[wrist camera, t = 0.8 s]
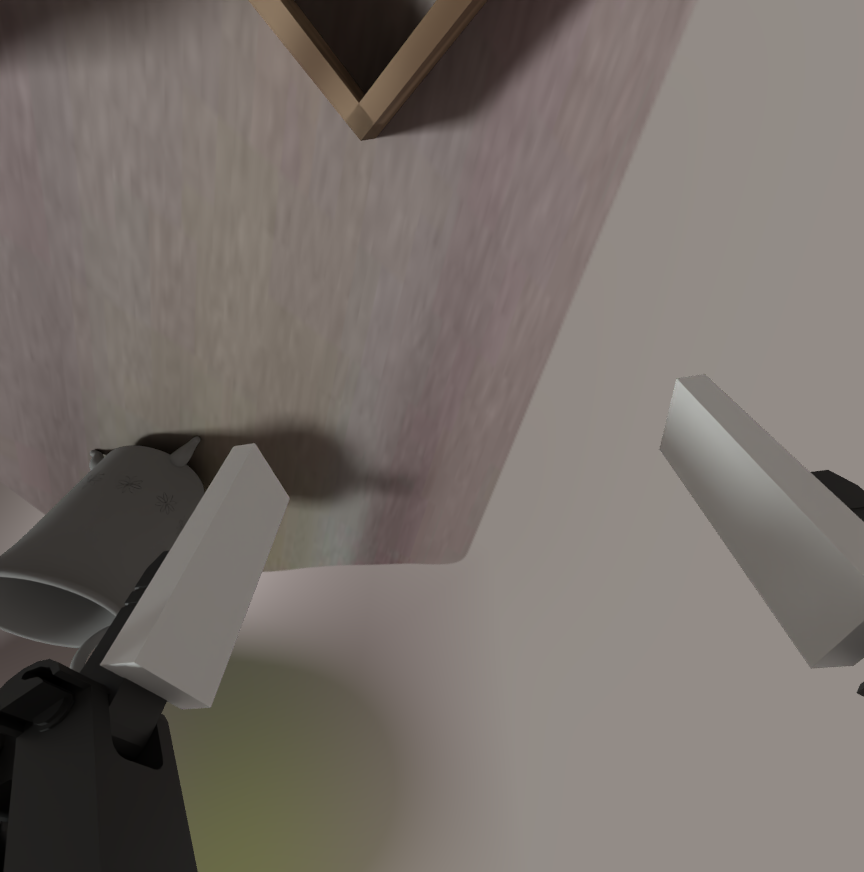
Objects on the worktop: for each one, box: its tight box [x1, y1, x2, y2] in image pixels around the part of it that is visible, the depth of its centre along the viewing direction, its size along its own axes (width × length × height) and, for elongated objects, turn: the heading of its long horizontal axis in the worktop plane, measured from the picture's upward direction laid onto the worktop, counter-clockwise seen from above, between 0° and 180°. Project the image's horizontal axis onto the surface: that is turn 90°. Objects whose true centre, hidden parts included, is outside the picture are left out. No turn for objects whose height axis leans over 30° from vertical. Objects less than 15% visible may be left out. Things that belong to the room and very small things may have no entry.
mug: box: [0, 436, 204, 673], centre depth 40 cm, size 19×15×25 cm
